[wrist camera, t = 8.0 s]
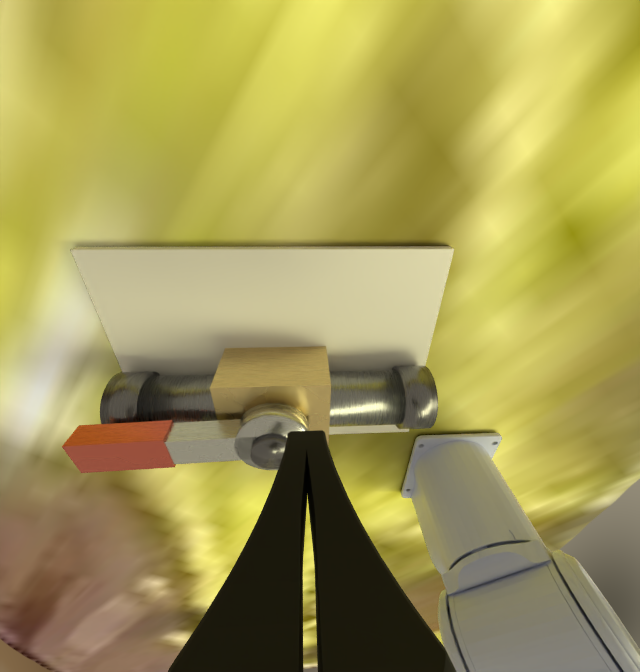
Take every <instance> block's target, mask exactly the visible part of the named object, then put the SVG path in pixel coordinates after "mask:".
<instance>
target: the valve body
mask: <svg viewBox="0 0 640 672" xmlns="http://www.w3.org/2000/svg"><path fill="white" fill-rule="evenodd" d="M265 403H281V404H286V405H290V406H292V407H294V408H296V409H298V410H299V411H301V412H302V413H303V414H304V415H305V416H306V418H307V420H308V422H309V431H317V430H323V431H324V432H325V435H326V440H327V444H328V446H329V427H342V426H372V425H396V427H397V428H398V429H419V428H431V427H432V426H433V425H434V423H435V421H436V417H437V411H438V397H437V390H436V385H435V381H434V378H433V376H432V374H431V372H430V370H429V369H428V368H427V367H426V366H423V365H418V366H394V367H393V368H392V370H382V371H339V372H329V365H328V357H327V349H326V346H311V347H257V348H225V350H224V352H223V355H222V358H221V360H220V363H219V365H218V368H217V371H216V373H215V374H209V375H165V376H160V374H159V373H158V372H154V371H149V372H121V373H118V374H116V375H115V376H114V377H113V378H112V379H111V380H110V381H109V383H108V384H107V386H106V388H105V390H104V393H103V396H102V399H101V405H100V419H101V424H114V423H131V422H149V421H166V420H173V423H183V422H200V421H217V420H234V419H241V417H242V416H243V414H244V413H245V412H246V411H248V410H249V409H251V408H253V407H255V406H257V405H260V404H265Z"/></svg>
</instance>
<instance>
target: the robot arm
mask: <svg viewBox="0 0 640 672" xmlns="http://www.w3.org/2000/svg"><path fill="white" fill-rule="evenodd" d="M501 440H502V437H501V435H500V434H499V433H480V434H451V435H422V436H418V437H417V438H416V440H415V443H414V447H413V451H412V454H411V458H410V462H409V465H408V469H407V473H406V476H405V480H404V484H403V487H402V491H401V495H402V497H403V498H412V502H413V505H414V508H415V511H416V514H417V517H418V520H419V524H420V527H421V530H422V533H423V536H424V539H425V543H426V546H427V549H428V552H429V555H430V557H431V560H432V562H433V564H434V565H435V567H436V569H437V570H438V571H439V572H440V574H441V576H442V579H443V582H444V585H445V588H446V589H445V590H443V591H442V592H441V594H440V598H439V607H438V621H439V628H440V632H441V637H442V641H443V644H444V646H443V645H442V644H441V642H440V641H439V640H438V638H437V637H436V636H435V634H434V633H433V632H432V630H431V629H430V628H429V626H428V625H427V624H426V622H425V621H424V620H423V618H422V617H421V616H420V614H419V613H418V611H417V610H416V609H415V607H414V606H413V604H412V603H411V601H410V600H409V599H408V597H407V596H406V594H405V593H404V591H403V590H402V589H401V587H400V586H399V584H398V582H397V581H396V579H395V578H394V576H393V575H392V573H391V572H390V570H389V569H388V567H387V566H386V564H385V562H384V561H383V559H382V558H381V556H380V555H379V553H378V551H377V550H376V548H375V546H374V544H373V543H372V541H371V539H370V538H369V536H368V534H367V532H366V531H365V529H364V527H363V525H362V523H361V522H360V520H359V518H358V516H357V514H356V512H355V510H354V508H353V506H352V504H351V502H350V500H349V498H348V496H347V493H346V491H345V489H344V487H343V484H342V482H341V480H340V477H339V475H338V473H337V470H336V468H335V465H334V462H333V459H332V457H331V454H330V450H329V447H328V444H327V440H326V435H325V432H324V431H323V430H317V431H290V432H289V433H288V434H287V441H286V445H285V450H284V453H283V457H282V460H281V463H280V466H279V469H278V472H277V475H276V477H275V480H274V483H273V486H272V488H271V491H270V493H269V495H268V498H267V500H266V503H265V505H264V507H263V510H262V512H261V514H260V516H259V518H258V521H257V523H256V525H255V527H254V529H253V531H252V533H251V535H250V537H249V539H248V541H247V543H246V545H245V547H244V549H243V550H242V552H241V554H240V556H239V558H238V560H237V561H236V563H235V565H234V567H233V569H232V570H231V572H230V574H229V576H228V577H227V579H226V581H225V583H224V584H223V586H222V588H221V589H220V591H219V592H218V594H217V596H216V597H215V599H214V601H213V602H212V604H211V606H210V607H209V609H208V610H207V612H206V614H205V615H204V617H203V618H202V620H201V622H200V623H199V625H198V626H197V628H196V629H195V631H194V632H193V634H192V635H191V637H190V638H189V640H188V641H187V643H186V644H185V646H184V647H183V649H182V650H181V652H180V653H179V655H178V656H177V658H176V659H175V661H174V662H173V664H172V665H171V667H170V668H169V670H168V672H303V551H304V536H305V521H306V506H307V493H308V503H309V513H310V523H311V532H312V542H313V552H314V564H315V588H316V623H317V659H318V672H640V649H639V648H638V646H637V645H636V643H635V642H634V640H633V639H632V637H631V635H630V634H629V633H628V631H627V630H626V628H625V627H624V625H623V624H622V622H621V621H620V619H619V618H618V616H617V615H616V613H615V612H614V611H613V609H612V607H611V606H610V605H609V603H608V602H607V600H606V599H605V598H604V596H603V595H602V593H601V592H600V590H599V589H598V588H597V586H596V585H595V583H594V582H593V580H592V579H591V578H590V576H589V575H588V574H587V572H586V571H585V570H584V568H583V567H582V566H581V564H580V563H579V562H578V561H577V560H576V559H575V558H574V557H572V556H570V555H568V554H565V553H564V552H563V551H561V550H557V551H555V552H553V553H552V552H551V551H550V550H549V549H548V548H547V547H546V546H545V544H544V543H543V541H542V540H541V538H540V536H539V535H538V533H537V531H536V530H535V528H534V527H533V525H532V523H531V522H530V520H529V519H528V517H527V515H526V514H525V512H524V510H523V509H522V507H521V506H520V504H519V502H518V501H517V499H516V497H515V496H514V494H513V493H512V491H511V489H510V488H509V486H508V485H507V483H506V481H505V480H504V478H503V476H502V475H501V473H500V472H499V470H498V468H497V467H496V465H495V464H494V462H493V460H492V458H493V456H494V454H495V452H496V450H497V448H498V446H499V444H500V442H501ZM444 647H445V648H444Z"/></svg>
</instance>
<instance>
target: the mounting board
mask: <svg viewBox="0 0 640 672" xmlns="http://www.w3.org/2000/svg"><path fill="white" fill-rule="evenodd" d="M70 251H71V253H72V255H73V258H74V260H75V262H76V265H77V267H78V269H79V272H80V274H81V276H82V279H83V281H84V283H85V286H86V288H87V290H88V293H89V295H90V298H91V300H92V302H93V305H94V307H95V309H96V312H97V314H98V316H99V319H100V321H101V323H102V326H103V328H104V330H105V333H106V335H107V337H108V340H109V342H110V344H111V347H112V349H113V351H114V354H115V356H116V358H117V361H118V363H119V365H120V368H121V370H122V372H149V371H154V372H158V373H159V374H160V376H165V375H209V374H215V373H216V371H217V368H218V365H219V363H220V360H221V358H222V355H223V352H224V350H225V348H257V347H311V346H326V349H327V357H328V365H329V372H339V371H382V370H392V368H393V367H394V366H418V365H423V366H425V365H426V361H427V357H428V353H429V348H430V344H431V340H432V336H433V332H434V328H435V324H436V320H437V316H438V312H439V308H440V304H441V300H442V296H443V292H444V288H445V284H446V280H447V276H448V272H449V268H450V264H451V260H452V256H453V252H454V249H453V248H452V247H450V246H301V247H75V248H73V249H71V250H70ZM386 432H409V429H398V428H397V427H396V425H372V426H342V427H329V434H356V433H386Z"/></svg>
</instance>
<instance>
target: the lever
mask: <svg viewBox="0 0 640 672" xmlns="http://www.w3.org/2000/svg"><path fill="white" fill-rule="evenodd" d="M290 431H309V422H308V420H307V418H306V416H305V415H304V414H303V413H302V412H301V411H299V410H298V409H296V408H294V407H292V406H290V405H286V404H281V403H265V404H260V405H257V406H255V407H253V408H251V409H249V410H248V411H246V412H245V413H244V414H243V416H242V417H241V419H234V420H217V421H200V422H183V423H173V420H166V421H149V422H131V423H114V424H97V425H80V426H78V427H77V429H76V430H75V431H74V432H73V434H72V435H71V436H70V437H69V439H68V440H67V441H66V442H65V443H64V445H63V446H62V447H63V449H64V450H65V452H66V453H67V454H68V456H69V457H70V458H71V460H72V461H73V462H74V464H75V465H76V466H77V468H78V469H79V470H80V472H81V473H88V472H104V471H120V470H136V469H152V468H168V467H175V465H176V464H186V463H202V462H218V461H234V460H242V461H244V462H245V463H247V464H249V465H250V466H253V467H256V468H259V469H264V470H278V469H279V466H280V463H281V460H282V457H283V453H284V450H285V445H286V441H287V434H288V433H289V432H290Z"/></svg>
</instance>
